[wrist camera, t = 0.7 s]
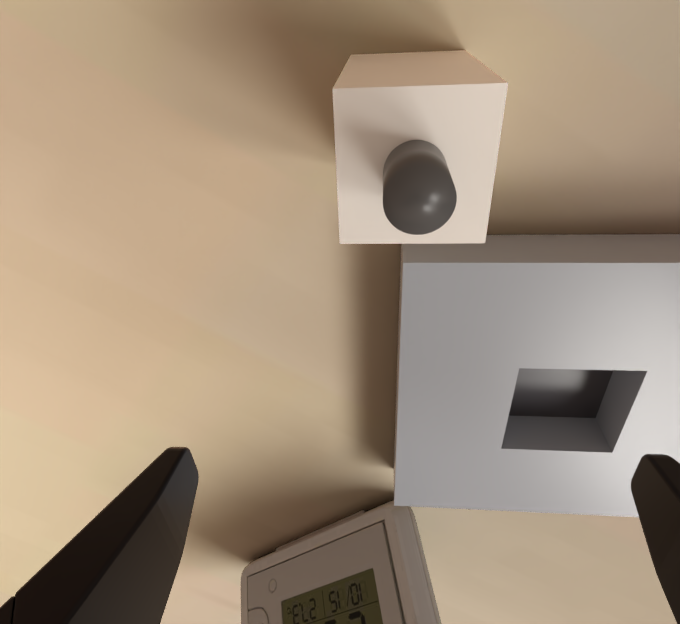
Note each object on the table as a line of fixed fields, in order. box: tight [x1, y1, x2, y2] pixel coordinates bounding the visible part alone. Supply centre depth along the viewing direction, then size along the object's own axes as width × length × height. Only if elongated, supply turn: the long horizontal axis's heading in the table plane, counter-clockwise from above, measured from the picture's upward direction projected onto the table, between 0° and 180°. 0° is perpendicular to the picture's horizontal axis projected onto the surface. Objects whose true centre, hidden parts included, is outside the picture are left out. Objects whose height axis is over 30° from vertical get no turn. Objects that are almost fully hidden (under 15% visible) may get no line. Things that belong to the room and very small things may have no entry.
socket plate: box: [394, 234, 680, 517], centre depth 23 cm, size 16×16×2 cm
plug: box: [332, 50, 508, 244], centre depth 14 cm, size 4×4×9 cm
